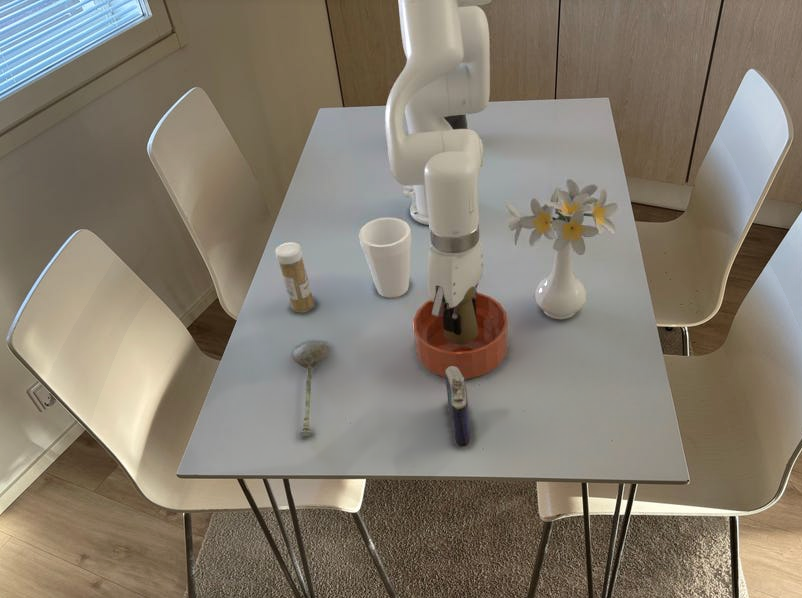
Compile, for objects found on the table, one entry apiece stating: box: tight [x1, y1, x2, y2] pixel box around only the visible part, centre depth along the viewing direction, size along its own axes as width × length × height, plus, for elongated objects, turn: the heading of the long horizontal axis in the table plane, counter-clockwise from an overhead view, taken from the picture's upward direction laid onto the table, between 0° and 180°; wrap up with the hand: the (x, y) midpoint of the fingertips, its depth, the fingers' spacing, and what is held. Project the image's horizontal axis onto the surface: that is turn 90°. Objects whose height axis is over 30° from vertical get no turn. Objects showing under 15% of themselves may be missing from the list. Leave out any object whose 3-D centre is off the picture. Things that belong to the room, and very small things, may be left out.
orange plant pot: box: [412, 291, 509, 379], centre depth 120 cm, size 16×16×6 cm
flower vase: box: [505, 178, 619, 320], centre depth 119 cm, size 13×18×25 cm
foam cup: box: [358, 216, 412, 299], centre depth 131 cm, size 10×9×13 cm
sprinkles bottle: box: [275, 241, 315, 314], centre depth 129 cm, size 5×5×14 cm
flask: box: [444, 366, 472, 448], centre depth 106 cm, size 9×3×11 cm, turn 8°
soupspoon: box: [291, 341, 330, 437], centre depth 117 cm, size 22×3×7 cm
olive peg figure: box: [444, 286, 478, 344], centre depth 116 cm, size 6×6×11 cm
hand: (460, 322), depth 118 cm, fingers closed on olive peg figure, 4 cm apart
